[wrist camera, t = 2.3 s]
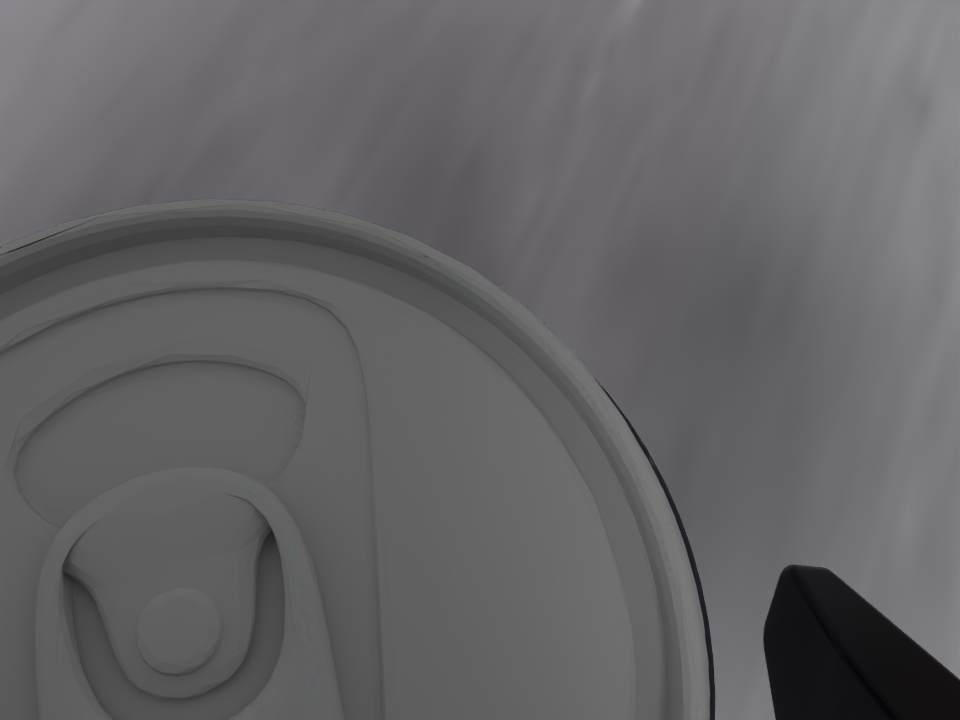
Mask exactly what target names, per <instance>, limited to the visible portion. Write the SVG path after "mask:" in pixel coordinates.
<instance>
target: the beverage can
mask: <svg viewBox="0 0 960 720" xmlns="http://www.w3.org/2000/svg"><path fill="white" fill-rule="evenodd" d="M0 720H715V685H714V666H713V653H712V645H711V637H710V629H709V621H708V616H707V611H706V606H705V601H704V596H703V591H702V586H701V582H700V578H699V574H698V571H697V567H696V564H695V560H694V556H693V553H692V549H691V546H690V543H689V541H688V538H687V535H686V532H685V529H684V527H683V524H682V521H681V518H680V516H679V513H678V511H677V509H676V506H675V504H674V502H673V500H672V497H671V495H670V493H669V491H668V488H667V486H666V484H665V482H664V480H663V478H662V476H661V474H660V472H659V470H658V469H657V467H656V465H655V463H654V461H653V459H652V457H651V456H650V454H649V452H648V450H647V449H646V447H645V445H644V444H643V442H642V441H641V439H640V438H639V436H638V435H637V433H636V431H635V430H634V428H633V427H632V425H631V424H630V422H629V421H628V419H627V418H626V417H625V415H624V414H623V413H622V411H621V410H620V409H619V407H618V406H617V405H616V403H615V402H614V401H613V399H612V398H611V397H610V395H609V394H608V393H607V392H606V391H605V390H604V388H603V387H602V386H601V385H600V384H599V383H598V382H597V380H596V379H595V378H594V377H593V376H592V374H591V373H590V372H589V371H588V369H587V368H586V367H585V366H584V364H583V363H582V362H581V361H580V359H579V358H578V357H577V356H576V355H575V354H574V353H573V352H572V351H571V350H570V349H569V348H568V347H567V346H566V345H565V344H564V343H563V342H562V341H561V340H560V339H559V338H558V337H557V336H556V335H555V334H554V333H553V332H552V331H551V330H550V329H549V328H548V327H547V326H546V325H545V324H544V323H543V322H541V321H540V320H539V319H538V318H537V317H536V316H535V315H534V314H533V313H532V312H531V311H530V310H529V309H528V308H526V307H525V306H524V305H522V304H521V303H519V302H518V301H517V300H515V299H514V298H513V297H511V296H510V295H508V294H507V293H506V292H504V291H503V290H501V289H500V288H499V287H497V286H496V285H495V284H493V283H492V282H490V281H489V280H488V279H486V278H485V277H484V276H482V275H481V274H479V273H478V272H477V271H475V270H474V269H472V268H471V267H469V266H467V265H465V264H463V263H461V262H459V261H457V260H455V259H453V258H451V257H450V256H448V255H446V254H444V253H442V252H440V251H438V250H436V249H434V248H432V247H430V246H428V245H426V244H424V243H422V242H420V241H418V240H417V239H415V238H413V237H411V236H408V235H405V234H402V233H399V232H396V231H393V230H391V229H388V228H385V227H382V226H379V225H376V224H373V223H370V222H367V221H364V220H361V219H358V218H355V217H352V216H349V215H346V214H342V213H337V212H331V211H326V210H320V209H315V208H310V207H304V206H299V205H293V204H288V203H282V202H277V201H253V200H228V199H198V200H188V201H178V202H168V203H158V204H148V205H138V206H132V207H128V208H124V209H120V210H116V211H111V212H107V213H103V214H99V215H95V216H90V217H86V218H82V219H78V220H74V221H69V222H65V223H62V224H60V225H57V226H55V227H52V228H49V229H47V230H44V231H41V232H39V233H36V234H34V235H31V236H28V237H26V238H23V239H20V240H18V241H15V242H13V243H10V244H7V245H5V246H2V247H0Z"/></svg>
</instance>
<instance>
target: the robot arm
mask: <svg viewBox="0 0 960 720" xmlns="http://www.w3.org/2000/svg"><path fill="white" fill-rule="evenodd" d="M763 642H764V652H765V658H766V664H767V670H768V676H769V682H770V688H771V694H772V700H773V706H774V713H775V719H776V720H960V679H959V678H957V677H956V676H955V675H954V674H953V673H952V672H950V671H949V670H948V669H947V668H946V667H944V666H943V665H942V664H941V663H940V662H938V661H937V660H936V659H935V658H934V657H933V656H931V655H930V654H929V653H928V652H927V651H925V650H924V649H923V648H922V647H921V646H920V645H918V644H917V643H916V642H915V641H914V640H912V639H911V638H910V637H909V636H908V635H906V634H905V633H904V632H903V631H902V630H901V629H899V628H898V627H897V626H896V625H895V624H893V623H892V622H891V621H890V620H889V619H887V618H886V617H885V616H884V615H883V614H882V613H880V612H879V611H878V610H877V609H876V608H874V607H873V606H872V605H871V604H870V603H869V602H867V601H866V600H865V599H864V598H863V597H861V596H860V595H859V594H858V593H857V592H855V591H854V590H853V589H852V588H851V587H850V586H848V585H847V584H846V583H845V582H844V581H842V580H841V579H840V578H839V577H838V576H836V575H835V574H834V573H833V572H831V571H830V570H828V569H826V568H822V567H813V566H802V565H789V566H787V567H785V568H784V570H783V571H782V573H781V574H780V577H779V580H778V583H777V586H776V590H775V593H774V596H773V599H772V602H771V606H770V609H769V612H768V615H767V619H766V622H765V626H764V635H763Z"/></svg>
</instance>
